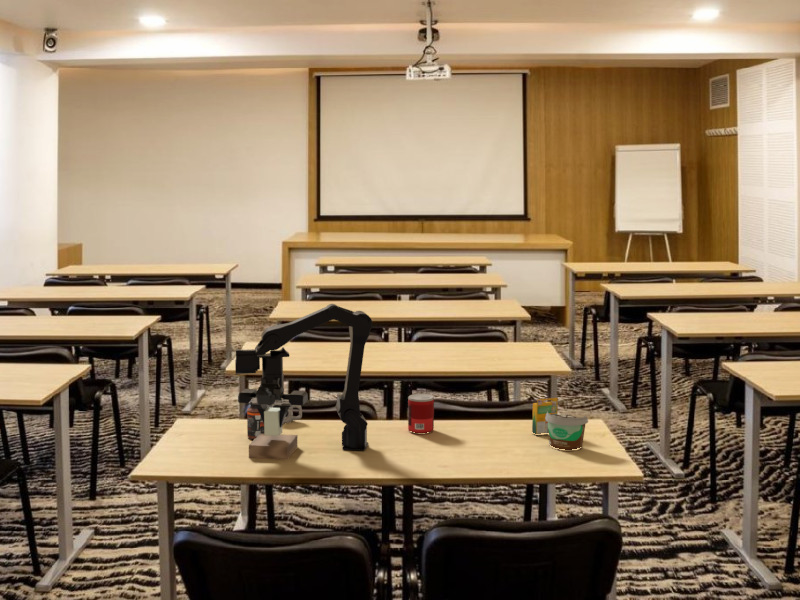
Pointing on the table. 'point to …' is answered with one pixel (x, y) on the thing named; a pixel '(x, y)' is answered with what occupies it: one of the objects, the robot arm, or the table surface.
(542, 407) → the crayon box
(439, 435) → the table surface
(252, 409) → the supplement bottle
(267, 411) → the sage block
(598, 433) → the table surface
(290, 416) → the mug
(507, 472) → the table surface
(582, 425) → the food container
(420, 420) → the canned food
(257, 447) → the walnut block
